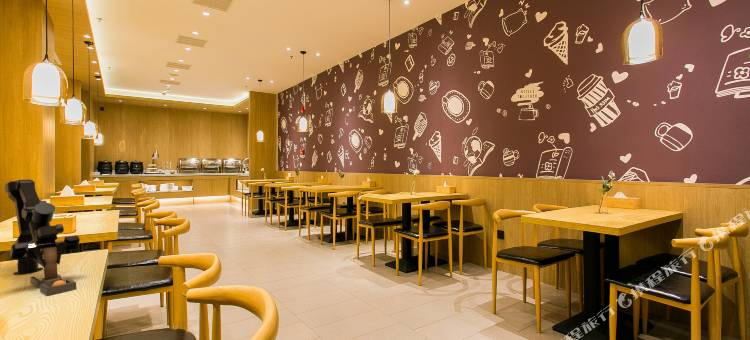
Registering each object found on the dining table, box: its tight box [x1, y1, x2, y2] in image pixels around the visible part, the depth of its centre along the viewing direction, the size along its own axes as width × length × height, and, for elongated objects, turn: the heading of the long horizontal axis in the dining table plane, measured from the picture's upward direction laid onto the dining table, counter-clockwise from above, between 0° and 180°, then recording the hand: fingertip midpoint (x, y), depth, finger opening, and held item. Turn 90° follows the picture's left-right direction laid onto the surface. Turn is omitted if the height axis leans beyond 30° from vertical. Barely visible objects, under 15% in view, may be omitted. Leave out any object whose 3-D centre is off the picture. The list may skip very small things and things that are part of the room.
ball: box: [52, 279, 66, 287], centre depth 128 cm, size 4×4×4 cm
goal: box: [39, 277, 77, 297], centre depth 129 cm, size 8×8×2 cm
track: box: [29, 273, 63, 288], centre depth 137 cm, size 8×7×2 cm
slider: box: [40, 247, 63, 287], centre depth 133 cm, size 6×4×13 cm
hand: (51, 265), depth 132 cm, fingers closed on slider, 4 cm apart
